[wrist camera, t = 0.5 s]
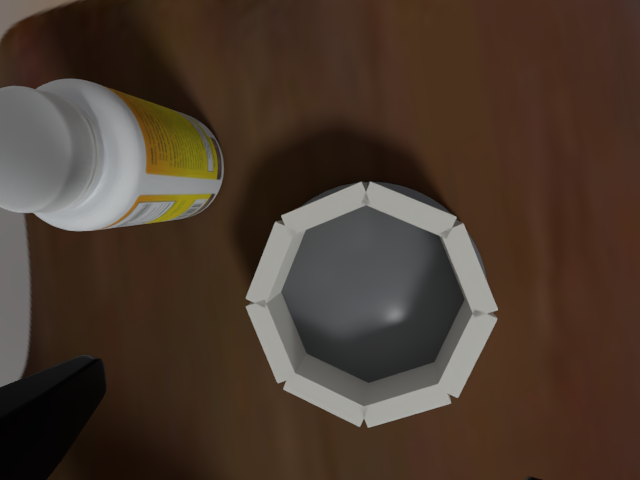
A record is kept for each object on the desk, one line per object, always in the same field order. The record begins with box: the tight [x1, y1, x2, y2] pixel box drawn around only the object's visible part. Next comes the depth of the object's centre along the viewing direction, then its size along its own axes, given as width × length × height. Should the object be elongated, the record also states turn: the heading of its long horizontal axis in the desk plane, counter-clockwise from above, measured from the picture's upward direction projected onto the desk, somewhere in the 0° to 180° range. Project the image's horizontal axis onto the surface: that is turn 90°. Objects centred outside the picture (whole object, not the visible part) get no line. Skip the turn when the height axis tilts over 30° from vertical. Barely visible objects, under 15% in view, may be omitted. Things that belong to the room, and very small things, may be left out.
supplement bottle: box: [0, 79, 224, 231], centre depth 19 cm, size 6×6×10 cm
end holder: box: [246, 182, 498, 428], centre depth 21 cm, size 11×11×3 cm
